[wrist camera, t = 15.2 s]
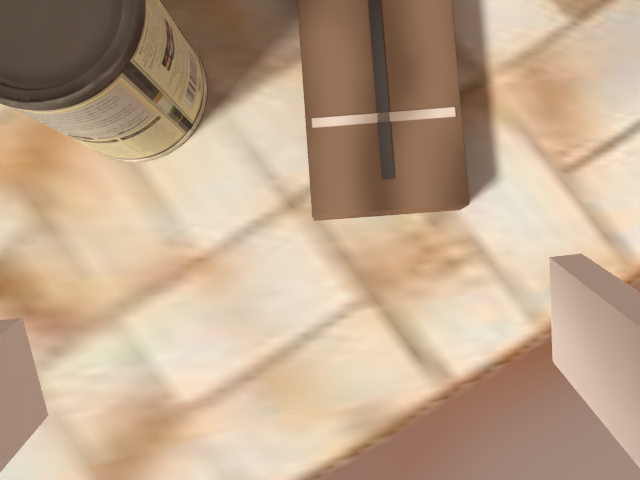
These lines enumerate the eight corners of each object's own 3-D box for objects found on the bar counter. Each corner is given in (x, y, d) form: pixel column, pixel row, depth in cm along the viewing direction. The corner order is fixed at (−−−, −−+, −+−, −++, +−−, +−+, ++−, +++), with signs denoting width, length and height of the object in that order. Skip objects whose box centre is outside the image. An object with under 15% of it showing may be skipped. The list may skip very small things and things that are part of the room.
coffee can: (43, 57, 43) (-103, -52, 29) (175, -1, 43) (93, -138, 29) (96, 187, 42) (-28, 141, 28) (230, 129, 42) (174, 53, 28)
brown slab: (314, 220, 41) (312, 215, 38) (287, -165, 43) (283, -199, 40) (460, 209, 41) (469, 204, 38) (426, -178, 43) (432, -213, 40)
